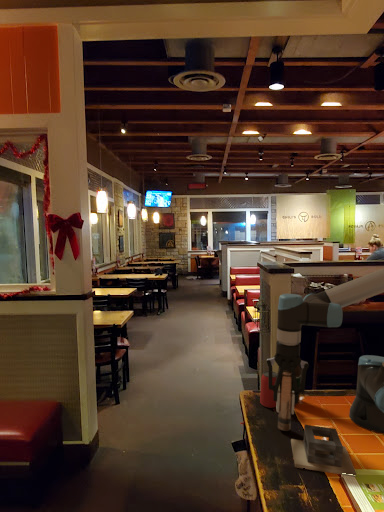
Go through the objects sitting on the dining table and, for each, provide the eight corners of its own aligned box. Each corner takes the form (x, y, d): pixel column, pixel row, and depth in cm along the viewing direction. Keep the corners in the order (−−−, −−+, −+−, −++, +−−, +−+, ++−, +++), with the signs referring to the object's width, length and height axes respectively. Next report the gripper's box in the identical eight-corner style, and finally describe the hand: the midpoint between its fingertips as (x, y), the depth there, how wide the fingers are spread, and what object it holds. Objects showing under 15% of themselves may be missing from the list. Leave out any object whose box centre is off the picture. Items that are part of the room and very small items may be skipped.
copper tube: (289, 424, 117) (292, 372, 115) (291, 431, 113) (293, 377, 111) (277, 423, 117) (279, 371, 116) (278, 430, 113) (280, 376, 112)
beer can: (277, 409, 129) (279, 378, 128) (259, 407, 130) (261, 376, 129) (277, 401, 135) (278, 371, 134) (259, 399, 137) (261, 369, 136)
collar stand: (344, 449, 106) (346, 427, 106) (356, 476, 94) (358, 452, 94) (290, 441, 109) (292, 420, 108) (295, 467, 97) (296, 443, 97)
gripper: (313, 340, 115) (310, 408, 117) (261, 336, 118) (258, 402, 120) (317, 347, 108) (313, 420, 110) (261, 343, 111) (258, 413, 113)
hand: (284, 410), depth 115 cm, fingers closed on copper tube, 4 cm apart
